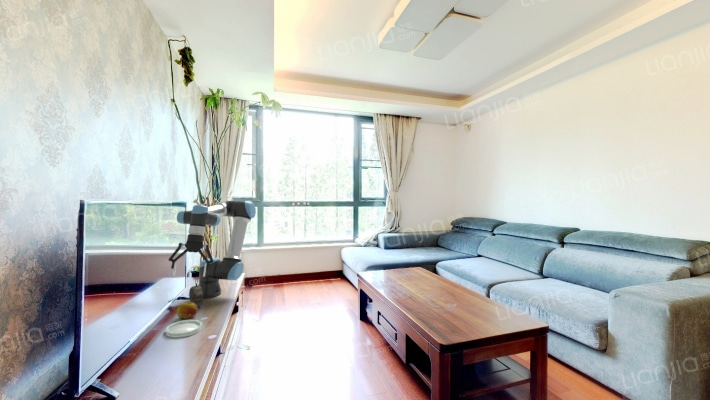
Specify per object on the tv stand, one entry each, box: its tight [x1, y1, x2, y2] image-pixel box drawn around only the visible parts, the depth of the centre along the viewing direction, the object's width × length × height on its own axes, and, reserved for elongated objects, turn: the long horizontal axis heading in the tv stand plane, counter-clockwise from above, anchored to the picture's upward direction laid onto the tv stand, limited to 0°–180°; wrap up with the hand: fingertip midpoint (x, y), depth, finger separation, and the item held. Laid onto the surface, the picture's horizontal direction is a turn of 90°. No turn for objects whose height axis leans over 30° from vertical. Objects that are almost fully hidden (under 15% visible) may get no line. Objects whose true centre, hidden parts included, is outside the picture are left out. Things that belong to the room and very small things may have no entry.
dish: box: [165, 319, 203, 339], centre depth 134 cm, size 15×15×2 cm
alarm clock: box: [188, 278, 204, 309], centre depth 163 cm, size 11×5×16 cm, turn 47°
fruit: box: [176, 301, 198, 320], centre depth 148 cm, size 10×9×8 cm
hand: (189, 276), depth 144 cm, fingers open, 13 cm apart
